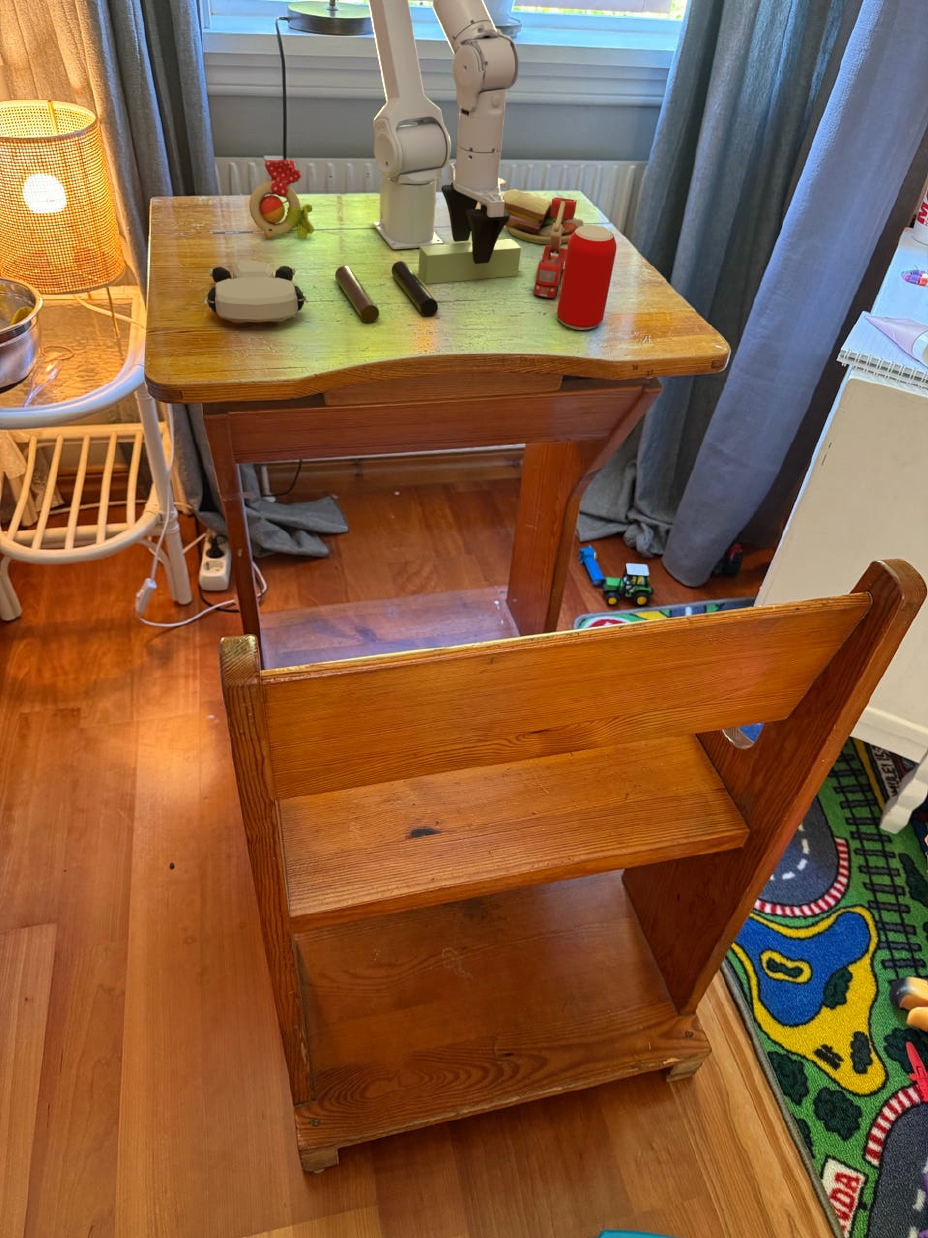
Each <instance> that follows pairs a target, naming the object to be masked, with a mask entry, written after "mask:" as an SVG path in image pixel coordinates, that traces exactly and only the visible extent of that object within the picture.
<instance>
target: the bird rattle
mask: <svg viewBox="0 0 928 1238" xmlns="http://www.w3.org/2000/svg"><path fill="white" fill-rule="evenodd" d="M264 168H265V170H266V172H267V174H268V175H269V176H270V179H269V180H266V181H263V182H262V183H260V184H259V185H257V186H256V187H255V189H254V190H253V191H252V193H251V195H250V199H249V208H248V209H249V213H250V215H251V218H252V219H253V222H254V224H255V225H256V226H257V227H258V229H260V230H261V231H262V232H263V234H264V237H265V238H266V239H271V238H272V237H273V236H278V235H283V234H287V232H292V231H293V230H295V229H296V232H297V236H298V238H300V239H303V240H304V239H306V238H307V237H308V235H309V234H310V235H312V234H313V233H314V232H315V228H314V226H313V224H312V223H311V221H310V220H309V213H312V212H313V206H312V205H311V204H309V203H306V204H304V205H303V206H301V203H300V199H299V197H298V196H297V195H298V194H297V193H296V192H295V190H294V188H292V187H291V186H290V185H291V184H295V183H298V182H299V181H300V179H301V177H302V173H301V171H300V170H299V169H296V165H295V162H294V160H287V159H286V158H283V159H280V160H267V161H265V162H264ZM280 197H281V198H285V199H286V200H285V201H283V200H282V199H281V198H280ZM286 203H288V206H287V208H285V204H286ZM286 209H287V211H286ZM285 214H286V216H285ZM283 219H284V220H283Z"/></svg>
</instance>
